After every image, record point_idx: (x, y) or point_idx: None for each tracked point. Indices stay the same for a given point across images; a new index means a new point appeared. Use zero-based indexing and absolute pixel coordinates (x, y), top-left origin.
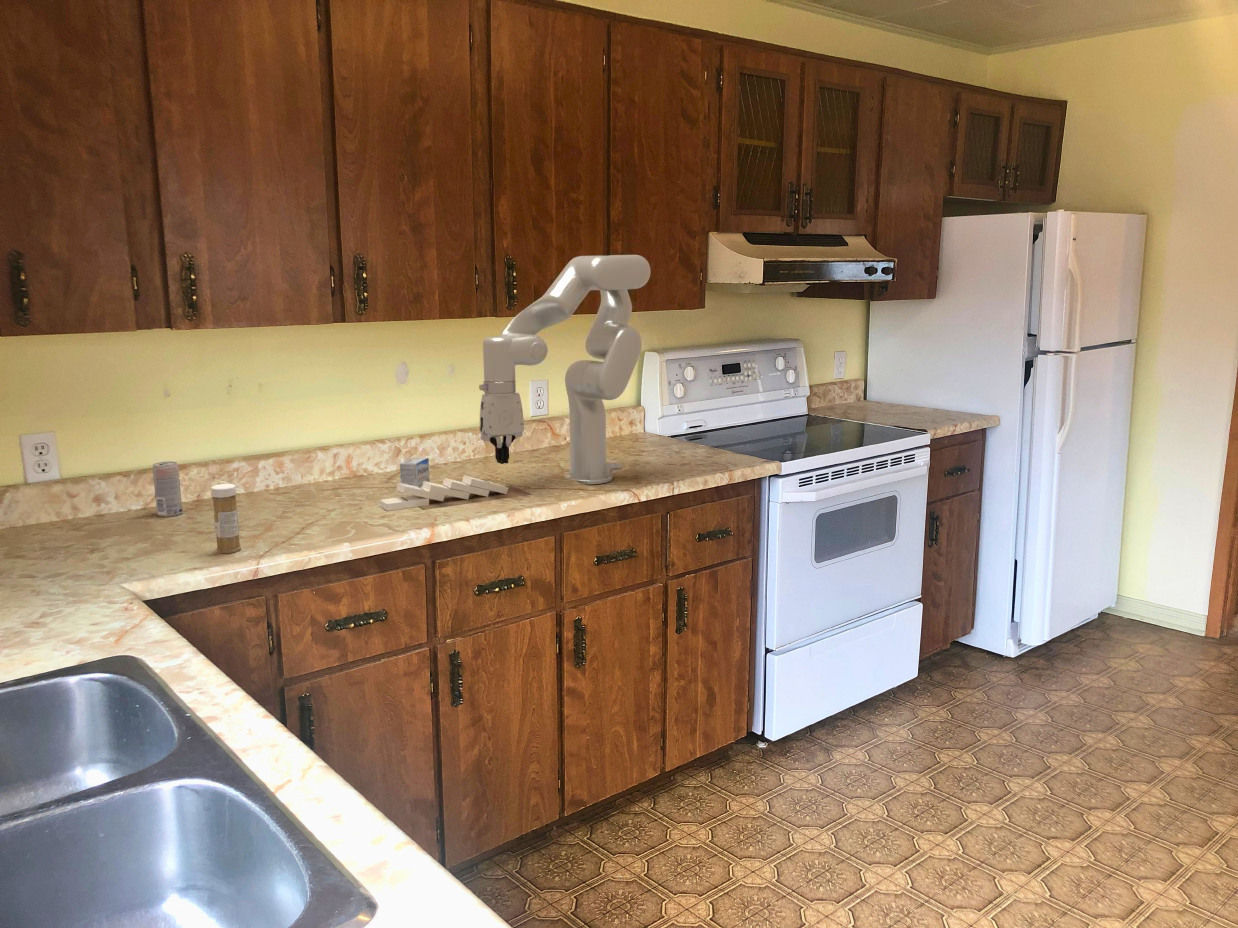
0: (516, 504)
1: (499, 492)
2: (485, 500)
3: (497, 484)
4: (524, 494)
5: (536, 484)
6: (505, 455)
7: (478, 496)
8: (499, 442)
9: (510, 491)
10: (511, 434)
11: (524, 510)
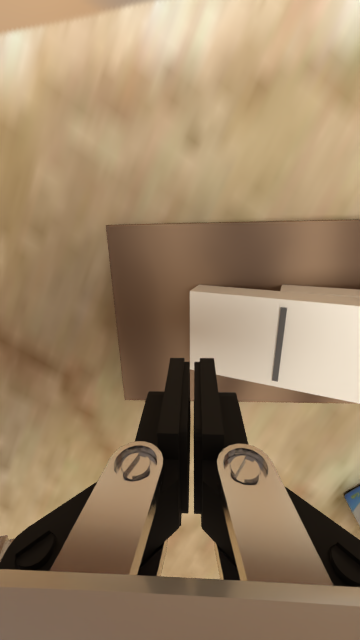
0: (205, 172)
1: None
2: (324, 228)
3: (223, 331)
4: (138, 239)
5: (32, 410)
6: (185, 390)
7: None
8: (255, 501)
9: (166, 317)
10: (56, 578)
11: (227, 27)
